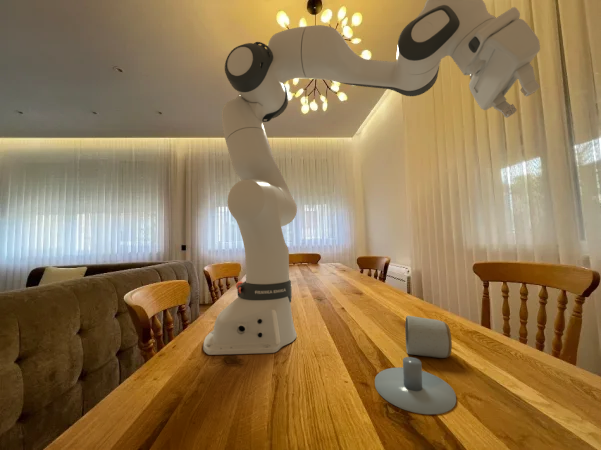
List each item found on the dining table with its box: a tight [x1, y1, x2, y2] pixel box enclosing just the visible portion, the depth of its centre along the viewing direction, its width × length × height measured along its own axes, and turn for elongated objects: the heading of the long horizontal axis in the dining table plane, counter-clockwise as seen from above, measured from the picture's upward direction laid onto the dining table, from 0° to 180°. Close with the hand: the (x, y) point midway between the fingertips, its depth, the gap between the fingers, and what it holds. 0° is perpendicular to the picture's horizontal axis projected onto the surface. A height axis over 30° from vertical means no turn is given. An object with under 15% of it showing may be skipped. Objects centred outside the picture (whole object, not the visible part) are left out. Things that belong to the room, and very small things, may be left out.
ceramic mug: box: [404, 315, 453, 359], centre depth 55 cm, size 11×8×8 cm
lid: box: [374, 356, 457, 415], centre depth 41 cm, size 12×12×5 cm
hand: (521, 104), depth 49 cm, fingers open, 8 cm apart
